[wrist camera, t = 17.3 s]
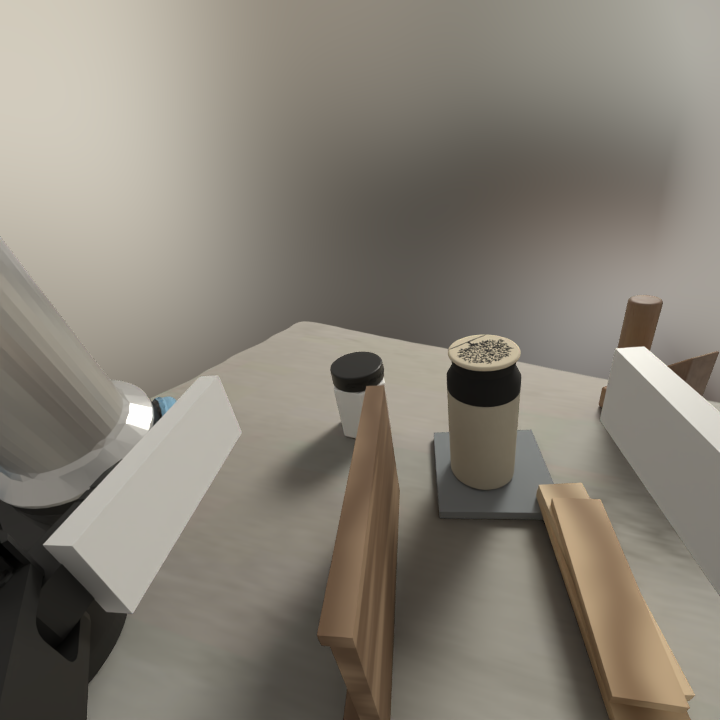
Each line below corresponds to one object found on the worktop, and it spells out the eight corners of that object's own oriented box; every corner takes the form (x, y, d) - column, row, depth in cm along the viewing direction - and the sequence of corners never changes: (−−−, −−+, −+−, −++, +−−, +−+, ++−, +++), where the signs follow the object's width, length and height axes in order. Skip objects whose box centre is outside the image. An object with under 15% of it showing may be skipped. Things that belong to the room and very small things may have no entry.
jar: (357, 449, 56) (344, 386, 50) (333, 424, 63) (318, 365, 57) (402, 424, 60) (395, 362, 54) (375, 402, 66) (365, 345, 60)
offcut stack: (608, 733, 27) (620, 718, 24) (532, 496, 43) (535, 475, 41) (700, 743, 25) (721, 728, 23) (586, 496, 42) (592, 474, 40)
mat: (439, 518, 44) (439, 511, 43) (434, 438, 56) (433, 432, 55) (564, 519, 41) (565, 513, 41) (530, 435, 53) (531, 429, 53)
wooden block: (661, 452, 47) (704, 328, 38) (597, 405, 56) (619, 297, 48) (685, 444, 48) (733, 320, 39) (618, 400, 57) (644, 291, 48)
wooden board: (344, 740, 28) (290, 633, 20) (373, 491, 49) (353, 386, 40) (389, 746, 28) (352, 638, 19) (399, 491, 48) (384, 385, 40)
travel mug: (527, 478, 45) (540, 354, 37) (471, 500, 44) (471, 377, 35) (489, 439, 52) (492, 327, 43) (440, 457, 51) (432, 344, 42)
